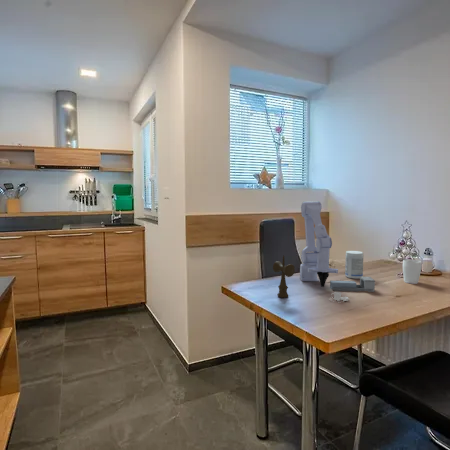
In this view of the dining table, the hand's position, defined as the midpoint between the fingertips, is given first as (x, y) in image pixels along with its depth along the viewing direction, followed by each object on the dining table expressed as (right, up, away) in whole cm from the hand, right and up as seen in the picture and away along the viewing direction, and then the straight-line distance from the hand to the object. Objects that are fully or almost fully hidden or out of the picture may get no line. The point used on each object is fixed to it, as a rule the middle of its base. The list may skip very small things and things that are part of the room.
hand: (322, 286), depth 162 cm
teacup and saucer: (+3, -4, -20) cm, 21 cm away
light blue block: (+10, -1, -1) cm, 10 cm away
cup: (+52, 0, +11) cm, 53 cm away
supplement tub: (+25, +1, +22) cm, 33 cm away
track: (+14, -1, -1) cm, 14 cm away
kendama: (-23, -3, -13) cm, 26 cm away
